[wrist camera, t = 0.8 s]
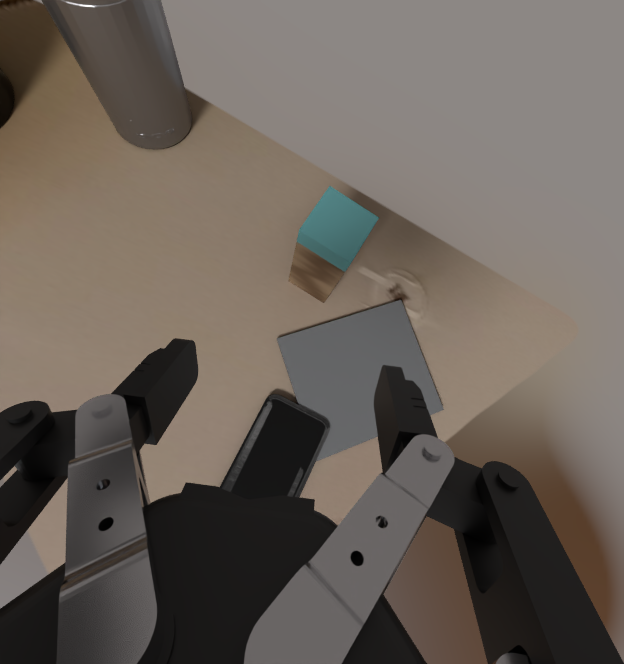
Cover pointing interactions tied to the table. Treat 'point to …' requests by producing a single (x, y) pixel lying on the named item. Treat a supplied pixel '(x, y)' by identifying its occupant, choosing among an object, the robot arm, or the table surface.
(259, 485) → the phone
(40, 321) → the table surface
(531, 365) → the table surface
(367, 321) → the grey mat
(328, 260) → the walnut block
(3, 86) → the jar
